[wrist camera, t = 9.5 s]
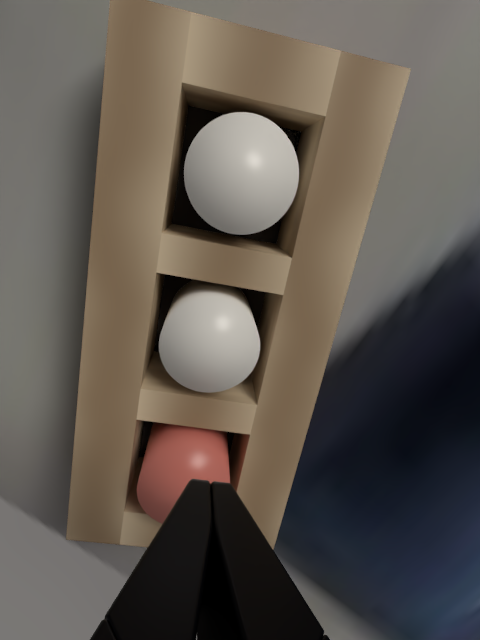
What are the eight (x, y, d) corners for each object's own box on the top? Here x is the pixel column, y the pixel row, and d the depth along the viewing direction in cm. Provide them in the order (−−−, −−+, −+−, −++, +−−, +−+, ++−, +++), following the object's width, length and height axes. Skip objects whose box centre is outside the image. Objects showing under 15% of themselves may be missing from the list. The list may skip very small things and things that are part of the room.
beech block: (367, 94, 17) (411, 68, 14) (261, 499, 24) (270, 558, 20) (134, 37, 16) (110, -10, 12) (90, 480, 23) (65, 539, 19)
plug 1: (289, 140, 17) (311, 127, 13) (269, 232, 18) (284, 244, 15) (198, 119, 17) (193, 99, 13) (183, 215, 18) (175, 223, 14)
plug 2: (258, 284, 19) (269, 308, 15) (242, 359, 20) (249, 398, 17) (175, 269, 19) (166, 290, 15) (164, 347, 20) (152, 385, 16)
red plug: (233, 408, 21) (238, 458, 17) (219, 471, 22) (221, 531, 18) (155, 397, 20) (142, 446, 16) (146, 462, 21) (131, 522, 17)
